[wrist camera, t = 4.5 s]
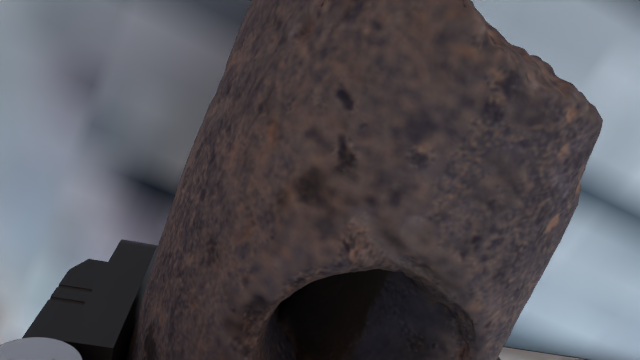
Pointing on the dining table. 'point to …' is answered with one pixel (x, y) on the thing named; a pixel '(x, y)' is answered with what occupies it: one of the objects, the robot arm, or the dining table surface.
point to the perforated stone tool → (366, 189)
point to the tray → (529, 355)
